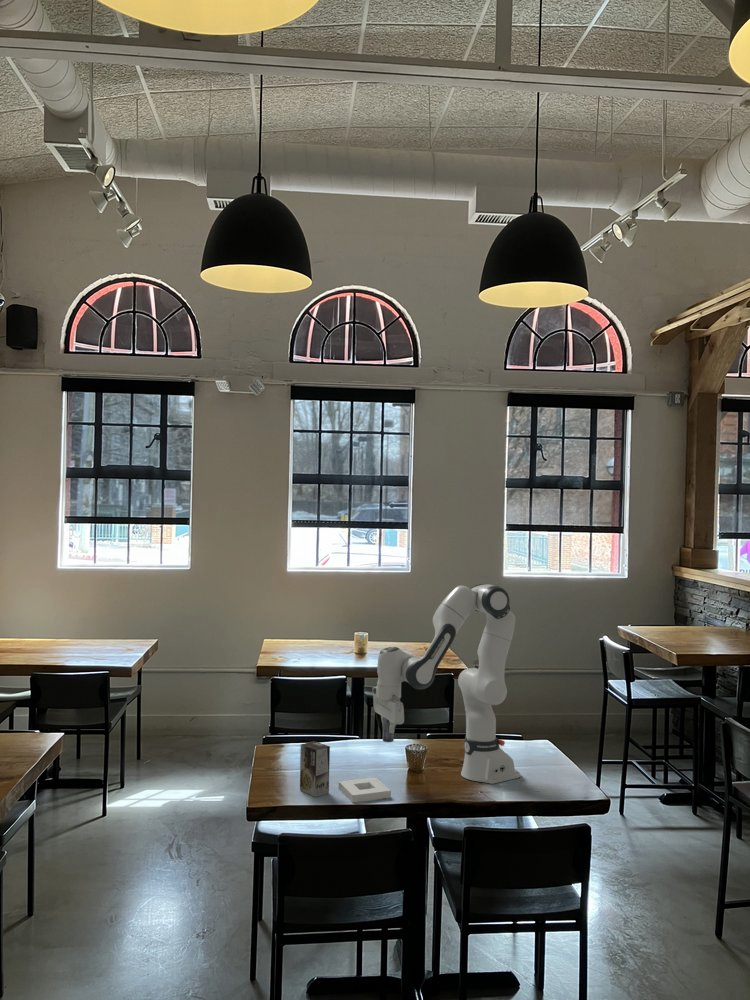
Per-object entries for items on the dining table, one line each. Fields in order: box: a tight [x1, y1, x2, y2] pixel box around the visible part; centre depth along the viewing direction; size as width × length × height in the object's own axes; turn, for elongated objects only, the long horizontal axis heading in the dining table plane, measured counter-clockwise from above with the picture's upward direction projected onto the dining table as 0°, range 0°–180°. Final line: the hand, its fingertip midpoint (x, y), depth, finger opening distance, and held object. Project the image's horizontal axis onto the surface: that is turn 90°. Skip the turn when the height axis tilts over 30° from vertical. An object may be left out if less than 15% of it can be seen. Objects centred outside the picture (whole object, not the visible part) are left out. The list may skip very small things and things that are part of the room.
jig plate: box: [338, 776, 392, 803], centre depth 260 cm, size 14×14×2 cm
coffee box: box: [299, 740, 331, 798], centre depth 260 cm, size 9×6×16 cm
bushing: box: [382, 718, 395, 743], centre depth 272 cm, size 4×4×8 cm
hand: (388, 730), depth 272 cm, fingers closed on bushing, 4 cm apart
